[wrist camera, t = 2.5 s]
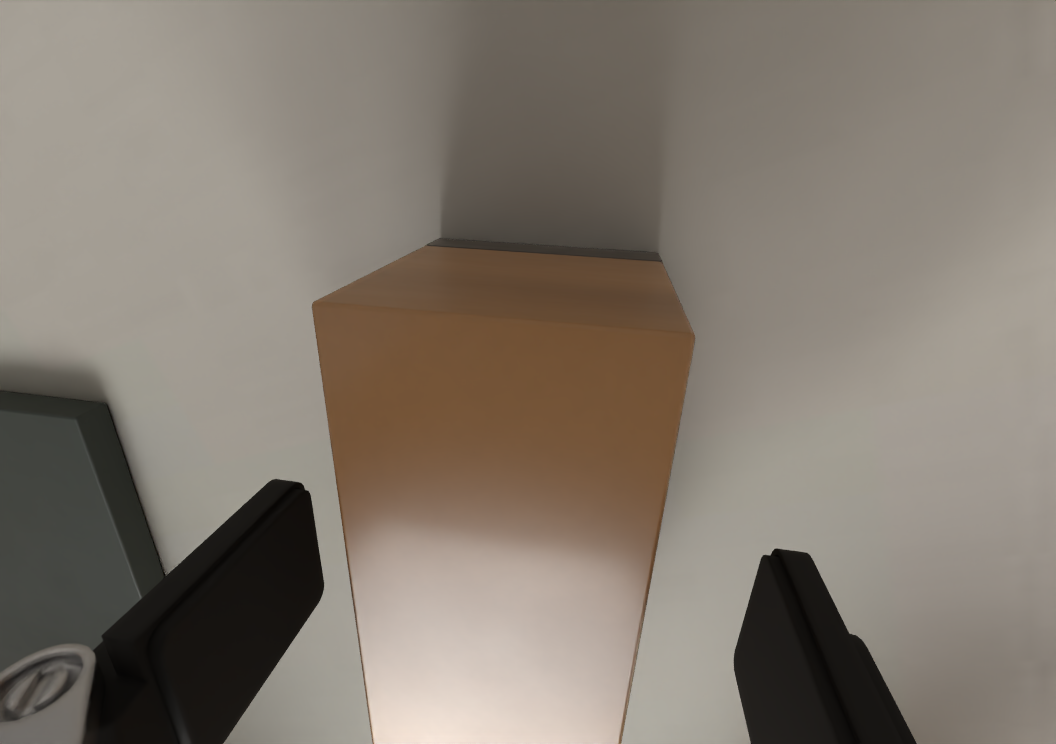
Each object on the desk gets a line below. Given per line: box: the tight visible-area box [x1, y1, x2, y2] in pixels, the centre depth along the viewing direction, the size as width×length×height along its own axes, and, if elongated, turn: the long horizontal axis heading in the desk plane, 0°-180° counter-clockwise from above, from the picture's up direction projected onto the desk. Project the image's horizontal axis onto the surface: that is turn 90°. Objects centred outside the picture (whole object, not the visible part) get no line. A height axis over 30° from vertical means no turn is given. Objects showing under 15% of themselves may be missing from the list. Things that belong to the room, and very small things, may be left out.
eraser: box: [312, 238, 695, 744], centre depth 11 cm, size 11×5×6 cm, turn 178°
